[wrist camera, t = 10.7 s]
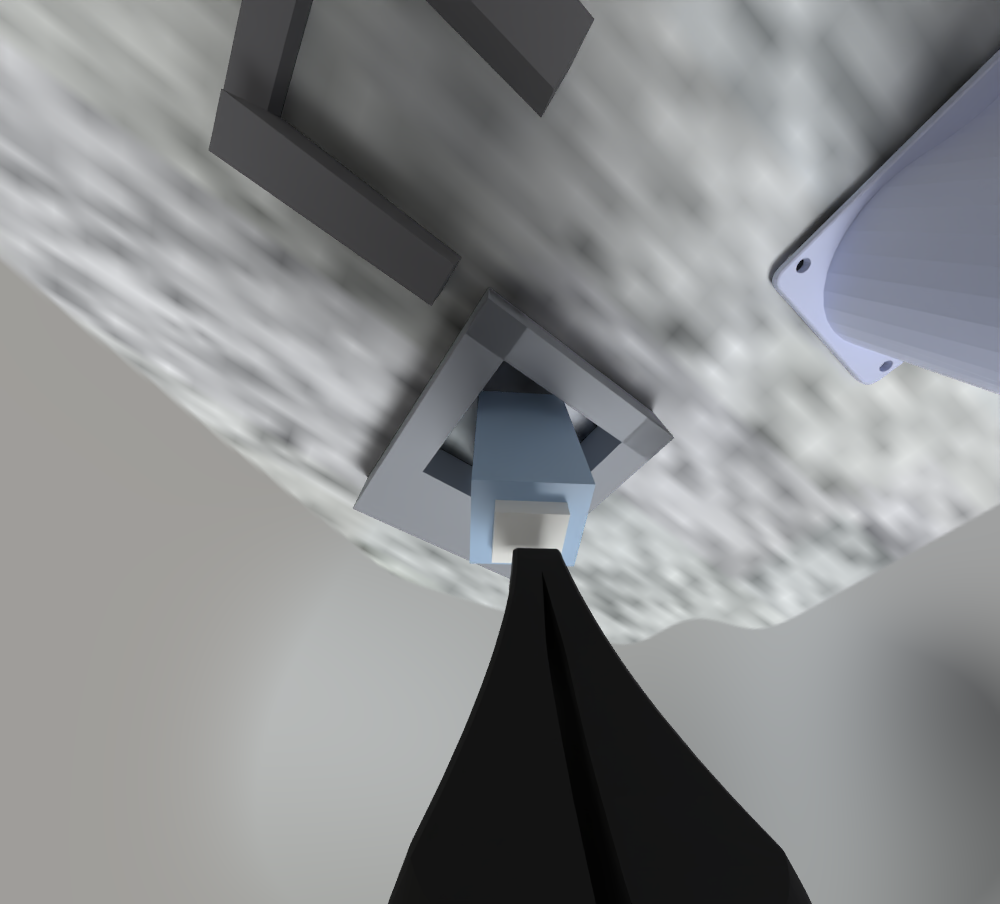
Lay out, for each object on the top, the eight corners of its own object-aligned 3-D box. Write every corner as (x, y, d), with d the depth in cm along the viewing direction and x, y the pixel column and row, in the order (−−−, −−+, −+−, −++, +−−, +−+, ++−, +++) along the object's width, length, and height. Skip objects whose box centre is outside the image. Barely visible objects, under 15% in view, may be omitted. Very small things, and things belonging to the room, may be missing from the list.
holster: (312, -225, 8) (235, -414, 6) (571, 64, 11) (594, 18, 9) (230, 138, 12) (160, 116, 9) (441, 290, 15) (431, 305, 12)
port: (489, 286, 15) (488, 300, 12) (653, 412, 18) (679, 443, 15) (367, 478, 20) (349, 515, 17) (511, 547, 23) (513, 587, 21)
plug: (479, 390, 17) (470, 491, 11) (561, 394, 17) (600, 496, 11) (477, 458, 19) (468, 576, 13) (549, 462, 19) (577, 579, 13)
